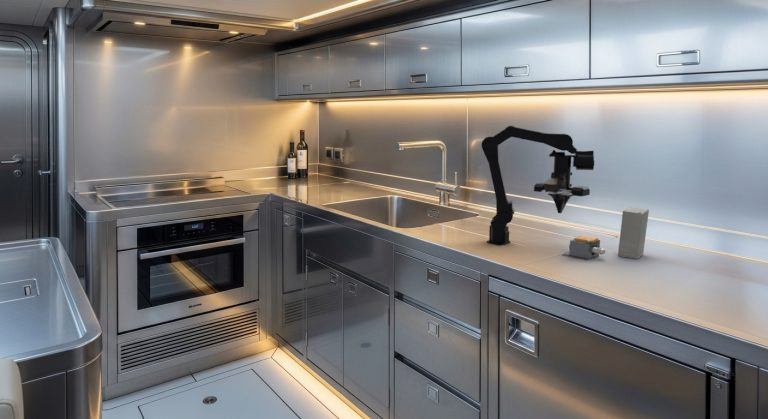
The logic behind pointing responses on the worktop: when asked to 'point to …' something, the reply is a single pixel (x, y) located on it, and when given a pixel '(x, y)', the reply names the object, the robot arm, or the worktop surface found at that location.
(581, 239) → the plate
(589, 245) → the bracket
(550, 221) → the worktop surface
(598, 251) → the pin
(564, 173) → the robot arm
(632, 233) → the skincare box
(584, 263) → the worktop surface
